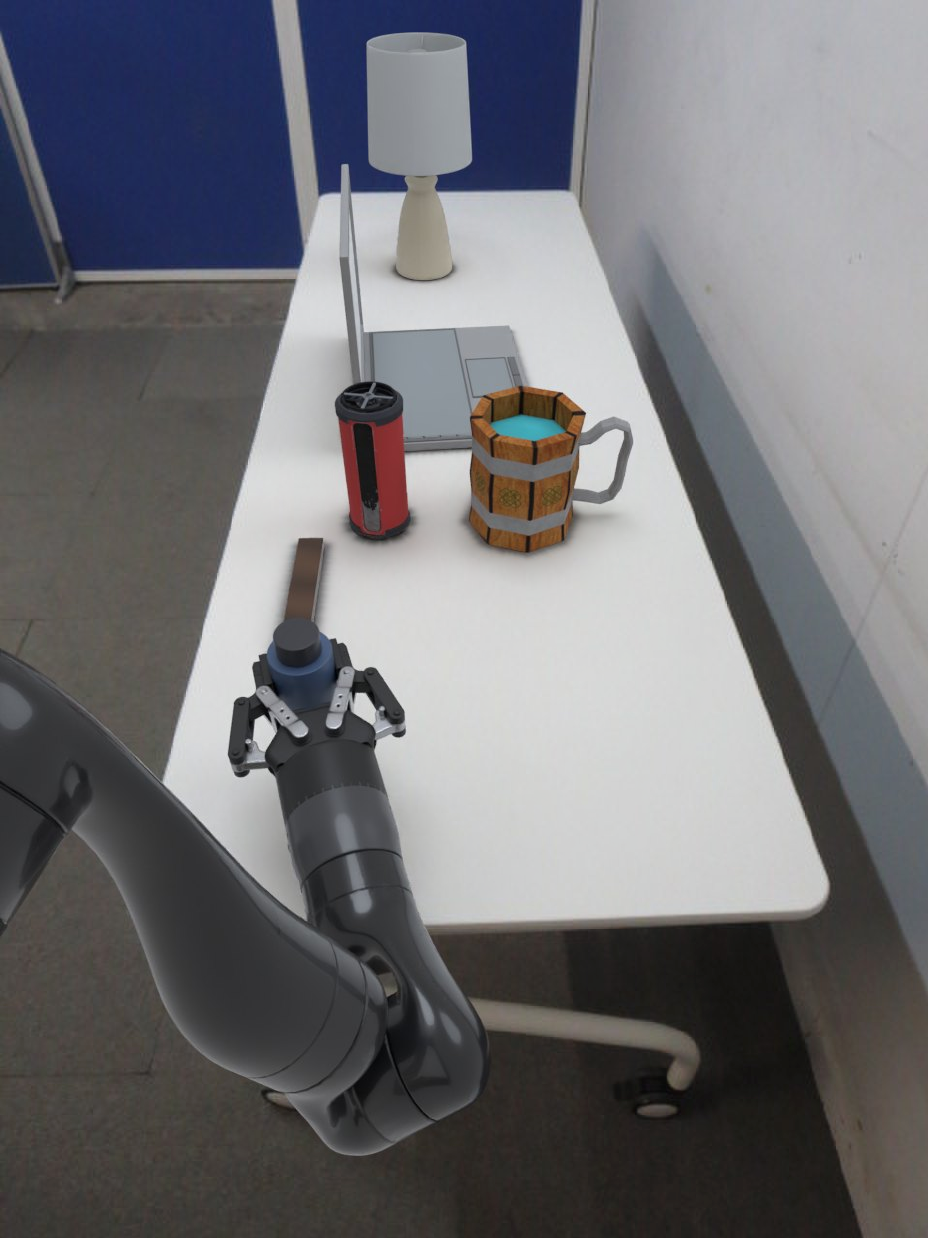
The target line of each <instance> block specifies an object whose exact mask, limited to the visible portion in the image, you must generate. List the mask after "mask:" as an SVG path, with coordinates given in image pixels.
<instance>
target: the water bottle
mask: <svg viewBox="0 0 928 1238" xmlns="http://www.w3.org/2000/svg"><path fill="white" fill-rule="evenodd" d="M329 639H330V638H328V636H326V634H324V633H323V632H321V631H320V629H319V626H318V625H317V624H316V623H315V621H314V622H313V621H311V620H308V619H305V618H293V619H289V620H286V621H284V620H283V621H282V622H281V623H279V624H278V625H277V626H276V628H274V631H273V633H272V641H271V642H270V644H269V645H268V648H267V651H266V653H267V661H268V665H269V669H270V673H271V677H272V681H273V685H274V689H275V693H276V695H277V696H278V698H279V699H280V700H281V699H282V700H283V701H284V702H285V703H286V704H287V705H288V706H289V708H290V709H291V710H292V711H293V710H297V709H301V708H313V707H315V706H318V705H320V704H322V703H326V702H330V701H332V697H333V693H334V688H335V686H337V682H338V681H337V676H336V670H335V663H334V657H333V650H332V645H331V642H330V640H329Z"/></svg>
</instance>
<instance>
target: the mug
mask: <svg viewBox="0 0 928 1238" xmlns="http://www.w3.org/2000/svg"><path fill="white" fill-rule="evenodd" d="M586 415H587V412H586V411H585V410H583V408H581V407H580V406H579V405H578V404H577V403H575V402H574V401H573V400H572V399H571V398H569V396H568V395H566V394H565V393H564V392H562V391H557V390H550V389H545V388H538V387H532V386H528V387H527V386H517V387H513V388H510V389H506V390H502V391H498V392H494V393H490V394H487V395H483V396H482V398H481V400H480V401H479V403H478V405H477V406H476V408H475V410H474V411H473V413H472V414H471V416H470V424H471V431H472V447H471V457H470V464H469V480H470V481H469V483H470V509H469V516H468V522H469V524H470V525H471V526H472V527H473V528H474V530H475V531H476V532H477V533H478V535H480V537H481V538H482V539H483V540H484V542H485V543H486V544H487V545H489V546H494V547H499V548H504V549H509V550H514V551H518V552H523V553H531V552H534V551H537V550H540V549H544V548H547V547H549V546H552V545H555V544H557V543H561V542H563V541H565V539H566V536H567V533H568V531H569V528H570V526H571V523H572V521H573V517H574V502H583V503H591V504H595V505H596V504H597V505H603V504H605V503H608V502H610V501H613V500H614V499H615V498H616V496H617V495H618V494H619V492H621V490H622V489H623V488H622V487H623V484H624V481H625V476H626V473H627V468H628V462H629V460H630V456H631V452H632V449H633V447H634V436H633V432H632V427H631V424H630V422H629V421H628V420H625V419H623V418H619V417H617V416H610V417H608V418H605V419H602V420H600V421H598V422H596V424H595V425H594V426H593V427H591V428H590V429H589V430H587V431H583V428H584V423H585V419H586ZM613 430H618V431H621V432H623V440H622V442H621V446H620V449H619V451H618V455H617V460H616V465H615V466H616V467H615V470H614V475H613V480H612V481H611V483H610V485H609V486H608V487H607V489H604V490H601V491H595V490H590V489H584V488H576V487H575V486H576V482H577V477H578V473H579V470H580V447H582V446H589V445H592V444H594V443H595V442H598V440H600V438H602V436H604V435H605V434H606V433H608V432H611V431H613Z"/></svg>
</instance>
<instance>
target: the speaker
mask: <svg viewBox="0 0 928 1238" xmlns="http://www.w3.org/2000/svg"><path fill="white" fill-rule="evenodd" d="M334 411H335V415H336V417H337V420H338V428H339V434H340V435H339V436H340V445H341V452H342V460H343V469H344V476H345V484H346V492H347V499H348V508H349V513H348V519H349V524H350V526H351V528H352V530H353V531H355V533H357V534H359V535H361V536H364V537H367V538H371V539H386V538H390V537H393V536H395V535H398V534H399V533H401V532H403V531H404V530H405V529H406V528H407V527H408V526H409V524H410V522H411V512H410V510H409V497H408V488H407V472H406V469H407V468H406V454H405V451H404V437H403V434H404V432H403V416H402V413H403V398H402V396H401V394H400V393H399V392H397V391H396V390H394V389H393V388H392V387H391V386H389V385H387V384H384V383H381V382H373V381H368V382H360V383H356V384H353V383H352V384H351V385H349V386H347V387H346V388H345V389H344V390H342V392H341V393H340V394H339V395H337V397H336V398H335V401H334Z"/></svg>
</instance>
